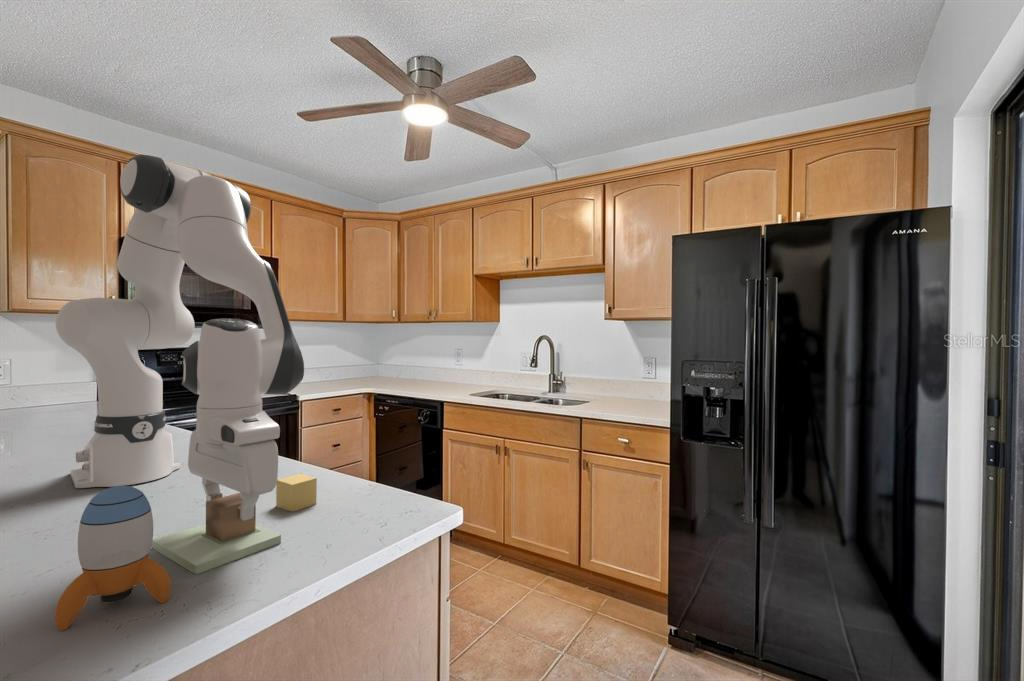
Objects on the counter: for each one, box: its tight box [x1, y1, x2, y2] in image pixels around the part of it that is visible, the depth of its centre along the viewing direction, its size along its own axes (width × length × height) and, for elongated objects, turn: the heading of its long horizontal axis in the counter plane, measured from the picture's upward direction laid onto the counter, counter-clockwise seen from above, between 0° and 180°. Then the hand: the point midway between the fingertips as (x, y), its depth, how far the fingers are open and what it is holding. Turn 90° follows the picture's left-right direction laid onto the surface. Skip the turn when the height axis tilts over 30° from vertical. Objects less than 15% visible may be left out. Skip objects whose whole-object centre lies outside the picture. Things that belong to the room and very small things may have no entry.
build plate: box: [151, 523, 282, 575], centre depth 74 cm, size 14×12×1 cm
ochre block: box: [275, 473, 318, 513], centre depth 91 cm, size 5×5×5 cm
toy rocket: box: [54, 485, 172, 632], centre depth 58 cm, size 10×11×15 cm
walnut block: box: [205, 492, 257, 542], centre depth 75 cm, size 5×5×5 cm
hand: (229, 511), depth 75 cm, fingers open, 8 cm apart
